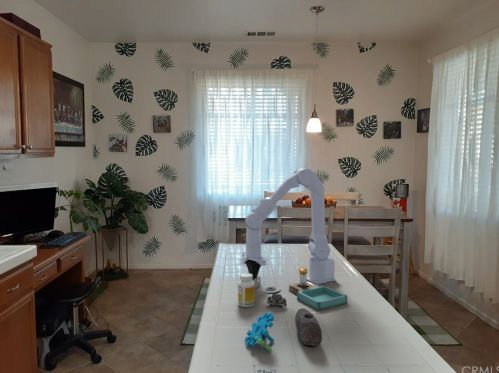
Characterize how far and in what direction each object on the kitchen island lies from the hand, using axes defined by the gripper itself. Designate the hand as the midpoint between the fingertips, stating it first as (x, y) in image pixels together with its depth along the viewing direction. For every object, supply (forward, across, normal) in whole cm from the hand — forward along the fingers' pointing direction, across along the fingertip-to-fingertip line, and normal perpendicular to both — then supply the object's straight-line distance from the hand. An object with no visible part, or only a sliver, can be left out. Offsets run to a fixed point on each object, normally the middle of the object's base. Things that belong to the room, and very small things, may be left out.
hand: (253, 279), depth 143 cm
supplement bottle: (+1, +18, -13) cm, 22 cm away
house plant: (+1, -34, +19) cm, 39 cm away
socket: (+1, +18, +10) cm, 20 cm away
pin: (+1, +18, +10) cm, 20 cm away
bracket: (+2, +9, 0) cm, 9 cm away
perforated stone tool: (+1, +45, -10) cm, 46 cm away
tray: (+1, +28, +10) cm, 29 cm away
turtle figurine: (+2, +27, -3) cm, 27 cm away
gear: (+1, +42, -23) cm, 48 cm away
